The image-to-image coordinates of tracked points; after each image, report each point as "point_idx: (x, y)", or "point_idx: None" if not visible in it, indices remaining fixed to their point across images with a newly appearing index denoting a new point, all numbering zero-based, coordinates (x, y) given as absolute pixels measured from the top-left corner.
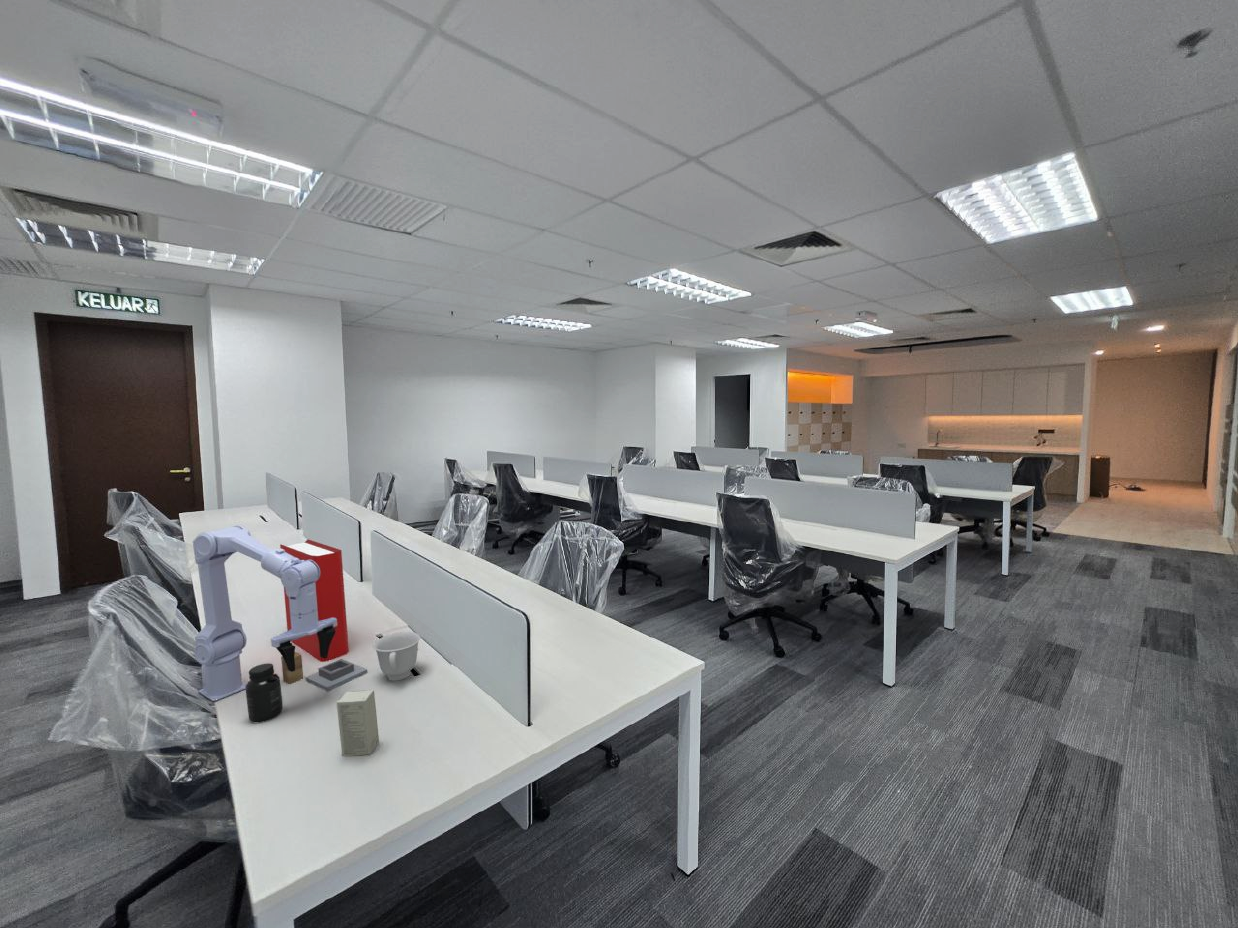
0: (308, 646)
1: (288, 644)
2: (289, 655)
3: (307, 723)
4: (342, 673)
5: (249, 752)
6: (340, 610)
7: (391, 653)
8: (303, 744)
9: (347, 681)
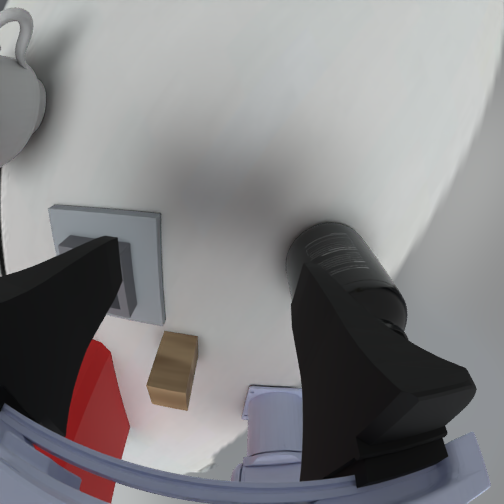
0: (113, 398)
1: (391, 446)
2: (395, 336)
3: (318, 92)
4: None
5: (449, 139)
6: None
7: None
8: (387, 25)
9: (102, 208)
